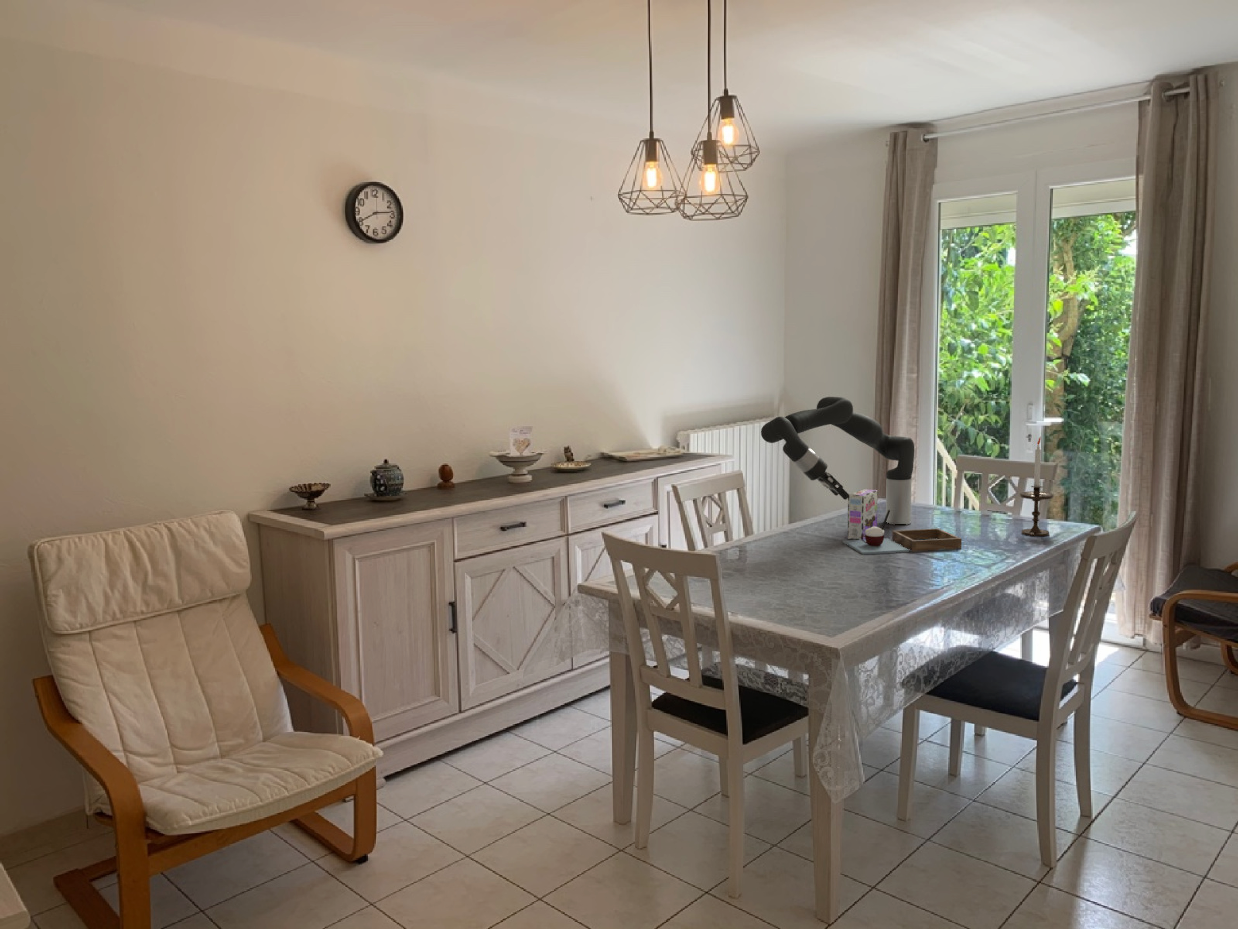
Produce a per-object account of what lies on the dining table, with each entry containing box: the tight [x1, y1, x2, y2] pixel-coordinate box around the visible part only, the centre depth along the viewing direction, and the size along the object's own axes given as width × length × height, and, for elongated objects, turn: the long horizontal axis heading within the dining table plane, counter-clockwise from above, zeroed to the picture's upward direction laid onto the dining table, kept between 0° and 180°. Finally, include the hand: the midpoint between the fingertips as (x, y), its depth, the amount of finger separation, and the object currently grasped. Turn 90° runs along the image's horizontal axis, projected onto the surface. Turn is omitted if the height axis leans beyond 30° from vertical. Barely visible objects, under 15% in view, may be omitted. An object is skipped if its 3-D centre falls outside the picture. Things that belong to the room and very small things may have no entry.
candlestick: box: [1019, 436, 1054, 537], centre depth 328 cm, size 11×11×35 cm
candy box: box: [847, 488, 878, 540], centre depth 332 cm, size 14×6×16 cm, turn 143°
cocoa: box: [861, 510, 890, 546], centre depth 316 cm, size 10×6×12 cm, turn 62°
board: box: [843, 537, 910, 556], centre depth 317 cm, size 18×16×1 cm
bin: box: [891, 527, 963, 552], centre depth 318 cm, size 17×17×4 cm
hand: (842, 495), depth 313 cm, fingers open, 8 cm apart
